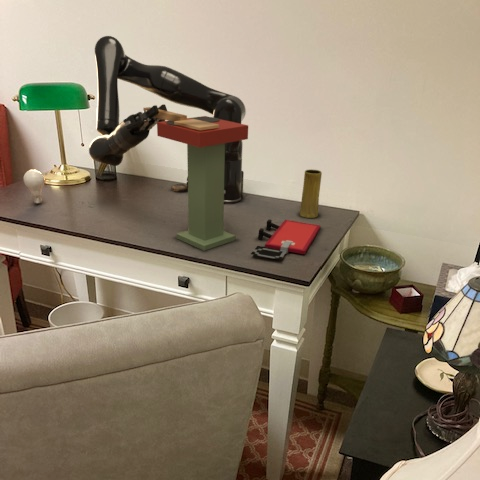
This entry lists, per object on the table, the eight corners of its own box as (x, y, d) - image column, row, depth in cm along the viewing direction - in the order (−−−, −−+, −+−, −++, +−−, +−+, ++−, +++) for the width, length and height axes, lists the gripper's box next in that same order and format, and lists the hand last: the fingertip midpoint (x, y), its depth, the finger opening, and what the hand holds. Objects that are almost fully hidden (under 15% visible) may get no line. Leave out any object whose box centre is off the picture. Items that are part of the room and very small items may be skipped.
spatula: (137, 115, 143) (136, 108, 143) (156, 113, 147) (155, 106, 147) (199, 130, 128) (199, 123, 127) (219, 127, 132) (219, 120, 131)
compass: (174, 186, 194) (173, 166, 190) (194, 188, 193) (194, 168, 189) (167, 192, 187) (166, 172, 184) (188, 194, 186) (188, 174, 182)
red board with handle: (243, 256, 140) (298, 266, 136) (244, 246, 138) (299, 256, 135) (273, 222, 165) (319, 229, 161) (273, 213, 163) (321, 221, 160)
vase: (320, 214, 173) (325, 170, 166) (314, 219, 168) (319, 175, 161) (302, 211, 175) (307, 168, 168) (296, 216, 170) (300, 172, 163)
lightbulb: (41, 207, 169) (36, 173, 163) (23, 205, 170) (17, 171, 164) (51, 201, 174) (46, 168, 169) (34, 199, 175) (28, 166, 170)
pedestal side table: (161, 233, 153) (156, 121, 137) (205, 221, 163) (205, 115, 148) (201, 251, 142) (201, 132, 126) (245, 236, 153) (249, 124, 137)
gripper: (105, 122, 149) (134, 96, 135) (145, 117, 157) (176, 92, 144) (115, 148, 150) (145, 124, 137) (154, 142, 158) (185, 119, 145)
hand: (161, 108), depth 140 cm, fingers closed on spatula, 2 cm apart
